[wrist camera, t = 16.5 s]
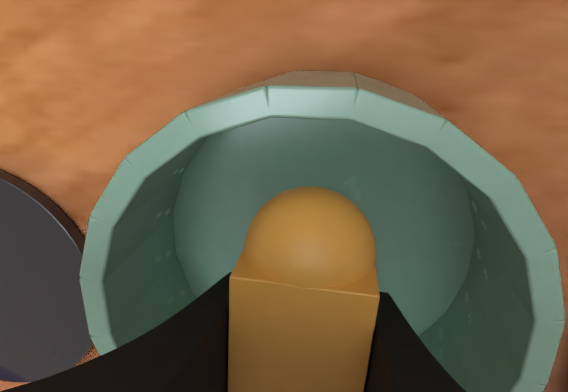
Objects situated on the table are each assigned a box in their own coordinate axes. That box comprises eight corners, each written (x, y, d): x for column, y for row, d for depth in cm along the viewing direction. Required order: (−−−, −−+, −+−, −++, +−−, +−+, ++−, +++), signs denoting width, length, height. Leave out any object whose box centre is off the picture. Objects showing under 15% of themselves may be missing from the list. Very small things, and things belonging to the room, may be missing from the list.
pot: (401, 406, 18) (422, 548, 13) (136, 307, 18) (55, 408, 13) (560, 145, 14) (688, 207, 9) (206, 17, 14) (123, 2, 9)
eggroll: (346, 396, 14) (346, 495, 11) (250, 381, 14) (225, 472, 11) (380, 176, 11) (392, 225, 8) (260, 163, 11) (230, 207, 8)
